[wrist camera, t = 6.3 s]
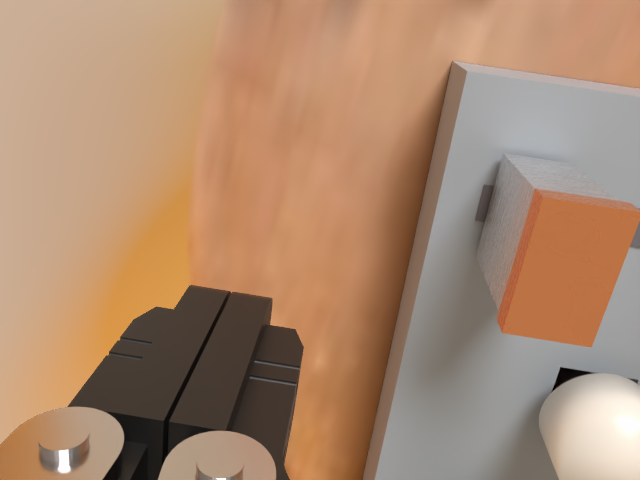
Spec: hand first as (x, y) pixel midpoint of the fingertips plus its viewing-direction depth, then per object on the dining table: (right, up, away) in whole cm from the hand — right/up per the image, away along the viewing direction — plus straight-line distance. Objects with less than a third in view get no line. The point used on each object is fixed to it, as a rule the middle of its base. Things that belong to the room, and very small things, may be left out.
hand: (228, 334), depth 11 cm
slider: (+9, +3, +10) cm, 14 cm away
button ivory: (+13, -4, +15) cm, 20 cm away
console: (+11, -3, +17) cm, 21 cm away
